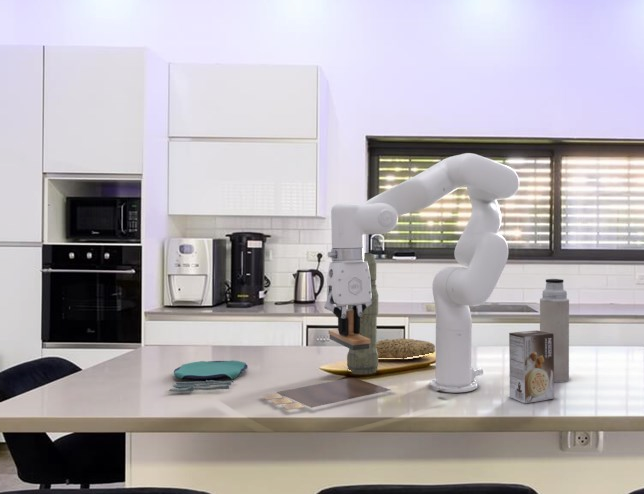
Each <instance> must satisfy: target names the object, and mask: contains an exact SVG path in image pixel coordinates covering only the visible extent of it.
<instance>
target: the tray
mask: <svg viewBox="0 0 644 494" xmlns="http://www.w3.org/2000/svg"><path fill="white" fill-rule="evenodd" d="M388 391H391V389H390V388H387V387H384V386H382V385H381V386H380V385H378V384H375V383H371V382H368V381H365V380H362V379H359V378H356V377H353V376H352V377H348V378H343V379H342V378H341V379H338V380H332V381H326V382H321V383H315V384H312V385H311V384H310V385H305V386H302V387H301V386H300V387H294V388H290V389H285V390H280V391H276V394H277V393H278V394H279V395H281V396H284V397H285V398H288V399H290V400H293V401H295V402H297V403H300V404H301V405H303V406H304V405H305V406H307V407H309V408H312V409H313V408H317V407H322V406H326V405H330V404H334V403H339V402H344V401H348V400H352V399H358V398H362V397H367V396H370V395H376V394H380V393H385V392H388Z"/></svg>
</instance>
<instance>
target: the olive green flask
mask: <svg viewBox="0 0 644 494" xmlns="http://www.w3.org/2000/svg"><path fill="white" fill-rule="evenodd" d="M364 261H367V263H368V267H369V272H370V279H371V292H372V297H371V301H372V304H371V305H369V306H368V307H366V308H365V310H364V311H363V313H362V316H361V317H360V333H359V335H362V336H364V337H366V338H369V339H370V343H369V349H361V350H351V349H349V348H348V352H347V354H346V366H347V370H348V369H349V370H351V371H352V373H351V374H352V375H371V374H375V373H377V372H376V370H377V371H378V366H379V360H378V352H377V349H376V342H377V334H378V333H377V329H378V328H377V325H378V323H377V321H378V320H377V319H378V318H377V317H378V314H379V293H378V289H377V283H376V281H377V260H376V257H375V254H373V253H372V252H364ZM347 309H351V305H347Z"/></svg>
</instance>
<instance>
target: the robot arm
mask: <svg viewBox="0 0 644 494" xmlns="http://www.w3.org/2000/svg"><path fill="white" fill-rule="evenodd" d="M461 188H466V192H467V195H468V198H469V200H470V204H471V214H470V217H469V219H468V222H467V224H466V226H465V228H464V229H463V231H462V232H461V235H460V237H459V239H458V241H457V243H456V246H455V248H454V259H455V261H456V262H457V263H458V264H459V265H461V266H462V267H460V266H448V267H444V268H442V269H440V270H439V271H438V272H437V273H436V274H435V275H434V277H433V280H432V296H433V302H434V309H435V378H433V379H431V380H430V381H429V385H430V386H432V387H433V388H434V387H435V388H437V389H439V390H437V391H438V392H443V393H453V394H454V393H456V394H457V393H468V392H472V391H475V390H477V389H478V382H477V380H475V378H476V377H480V376H483V374H484V370H483V368H482V367H479V368H474V367H472V364H473V363H472V362H473V361H472V360H473V358H472V356H473V354H472V352H473V351H472V350H473V346H472V345H473V344H472V343H473V342H472V341H473V340H472V339H473V338H472V337H473V319H472V318H473V317H472V313H471V309H470V307H478V306H482V305H484V303H486V302H487V301H488V299H489V298H490V297H491V295H492V293H493V291H494V289H495V287H496V286H497V284H498V281H499V279H500V277H501V275H502V273H503V271H504V269H505V267H506V264H507V262H508V258H509V245H508V242H507V240H506V239H505V237H504V236H503V235H502V234H499V230H500V228H501V224H502V214H501V210H500V207H499V203H498V201H499V200H508V199H510V198H513V196H515V195H516V193H517V192H518V190H519V188H520V178H519V175H518V173H517V172H516V171H515V170H514V169H513V168H512V167H510V166H508V165H506V164H503V163H501V162H498V161H495V160H493V159H490V158H488V157H484V156H483V155H479V154H477V153H471V152H465V153H461V154H457V155H453V156H449V157H446V158H444V159H442V160H440V161H439V162H437V163H435V164H433V165H431V166H430V167H428V168H426V169H425V170H423V171H422V172H419V173H418V174H416V175H414V176H413V177H411V178H409V179H407V180H404V181H403V182H401V183H398V184H397V185H394V186H392V187H391V188H388V189H386V190H384V191H383V192H380V193H379V194H377V195H375V196H373V197H371V198H370V199H368V200H366V201H365V202H363V203H361V204H359V203H355V202H354V203H353V202H351V203H350V202H349V203H347V202H346V203H345V202H344V203H336V204H334V205H333V206H332V207H331V210H330V215H331V216H330V219H331V223H330V224H331V228H330V229H331V250H330V251H328V252H327V257H328V258H330V259H331V262H329V265H328V270H327V278H326V279H327V280H326V301H325V304H324V309H325V310H326V311H327V310H328V311H329V312H332V313H333V314H334V316H335V317H336V318H337V329H338V331H339V334H340V335H345V336H347V335H348V334H349V326H348V318H346V309H347V306H348V305H351V309H353V310H354V333H355V334H359V333H360V317H361V316H362V313H363V311H364V310H365V308H366V307H368V306H369V305H371V304H372V301H371V297H372V292H371V279H370V272H369V267H368V263H367V261H364V253H365V235H384V234H388V233H391V232H392V231H393V230H394V229H395V228H396V226H397V225H398V222H399V217H400V216H403V215H406V214H409V213H414V212H418V211H421V210H424V209H426V208H429V207H431V206H432V205H434V204H436V203H437V202H439V201H440V200H442V199H444V198H445V197H447V196H448V195H451V194H452V193H453V192H455V191H456V190H458V189H461Z"/></svg>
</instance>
